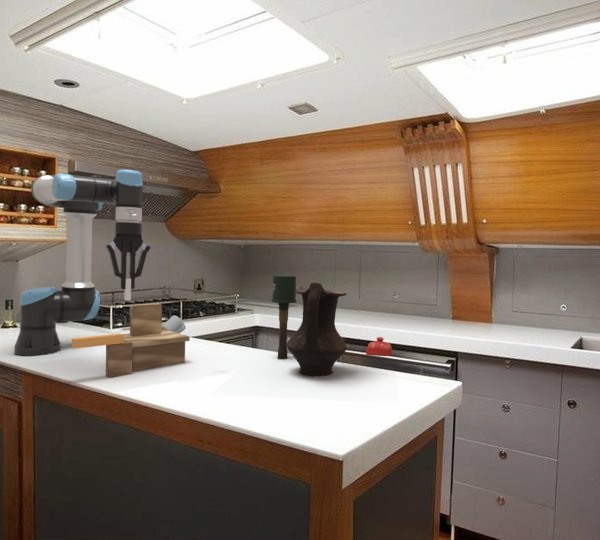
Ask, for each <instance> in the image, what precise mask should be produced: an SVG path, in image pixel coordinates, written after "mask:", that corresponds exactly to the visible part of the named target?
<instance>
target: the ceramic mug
mask: <svg viewBox="0 0 600 540" xmlns="http://www.w3.org/2000/svg"><path fill="white" fill-rule="evenodd" d="M186 328H187V327H186V324H185V322H184V321H183V320H182V319H181V318H180V317H179V316H177V315H172V316H170V317H169V319H167V320H166V321H165V322H164V323H163V324H162V330H168V331H172V332H175V333H179V334H182V332H184V331H185V330H186Z"/></svg>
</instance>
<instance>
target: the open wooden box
mask: <svg viewBox="0 0 600 540" xmlns="http://www.w3.org/2000/svg"><path fill="white" fill-rule="evenodd" d="M185 363H186V341H184V342H176V343H167V344H158V345H150V346H141V347H133V348H132V342H124V343H120V344H111V345H105V377H106V378H108V379H109V378H110V379H111V378H117V377H124V376H128V375H132V374H133V373H137V372H143V371H147V370H153V369H157V368H163V367H169V366H174V365H179V364H185Z"/></svg>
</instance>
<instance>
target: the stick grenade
mask: <svg viewBox="0 0 600 540" xmlns="http://www.w3.org/2000/svg"><path fill="white" fill-rule="evenodd" d="M296 286H297V277H296V275H287V274H281V275H279V274H275V275H273V276H272V299H271V300H270V302H271V303H274V304H275V303H277V304H278V321H279V328H278V329H279V333H278V347H277V348H278V350H277V358H278V359H277V360H287V358H288V359H289V357H288V348H287V342H288V321H289V307H290V304H294V303H295V304H296V303H297V300H296V299H297V298H296V295H297V293H296V292H295V290H296V289H297V287H296Z"/></svg>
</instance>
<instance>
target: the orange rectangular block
mask: <svg viewBox="0 0 600 540" xmlns="http://www.w3.org/2000/svg"><path fill="white" fill-rule="evenodd" d="M123 334H124V333H112V334H104V335H103V334H102V335H90V336H82V337H80V336H79V337H72V338H71V348H73V349H82V348H92V347H100V346H106V345H111V344H120V343H124V335H123Z"/></svg>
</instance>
